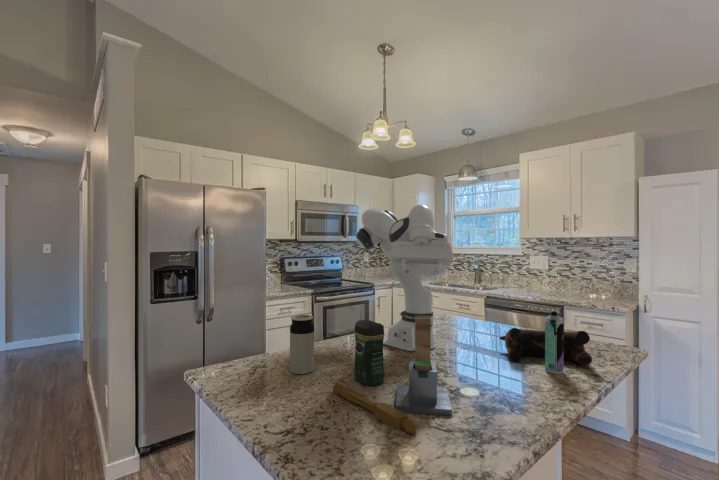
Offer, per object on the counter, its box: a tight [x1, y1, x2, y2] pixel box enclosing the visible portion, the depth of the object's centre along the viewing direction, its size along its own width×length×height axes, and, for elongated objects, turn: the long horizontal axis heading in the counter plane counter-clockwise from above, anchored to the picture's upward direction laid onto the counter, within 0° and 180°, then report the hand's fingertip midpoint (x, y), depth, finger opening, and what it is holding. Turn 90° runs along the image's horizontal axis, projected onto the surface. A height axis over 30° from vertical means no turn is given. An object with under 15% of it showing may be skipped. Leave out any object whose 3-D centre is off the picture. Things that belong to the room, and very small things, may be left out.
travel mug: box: [289, 314, 315, 375], centre depth 122 cm, size 8×8×18 cm
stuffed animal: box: [499, 327, 593, 366], centre depth 140 cm, size 13×31×25 cm
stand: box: [394, 361, 453, 417], centre depth 99 cm, size 14×14×10 cm
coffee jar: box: [353, 319, 385, 386], centre depth 114 cm, size 10×8×19 cm
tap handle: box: [332, 382, 418, 435], centre depth 94 cm, size 3×3×30 cm
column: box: [414, 315, 432, 370], centre depth 99 cm, size 4×4×15 cm
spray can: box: [544, 310, 565, 375], centre depth 122 cm, size 6×6×20 cm
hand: (421, 272), depth 117 cm, fingers open, 8 cm apart
